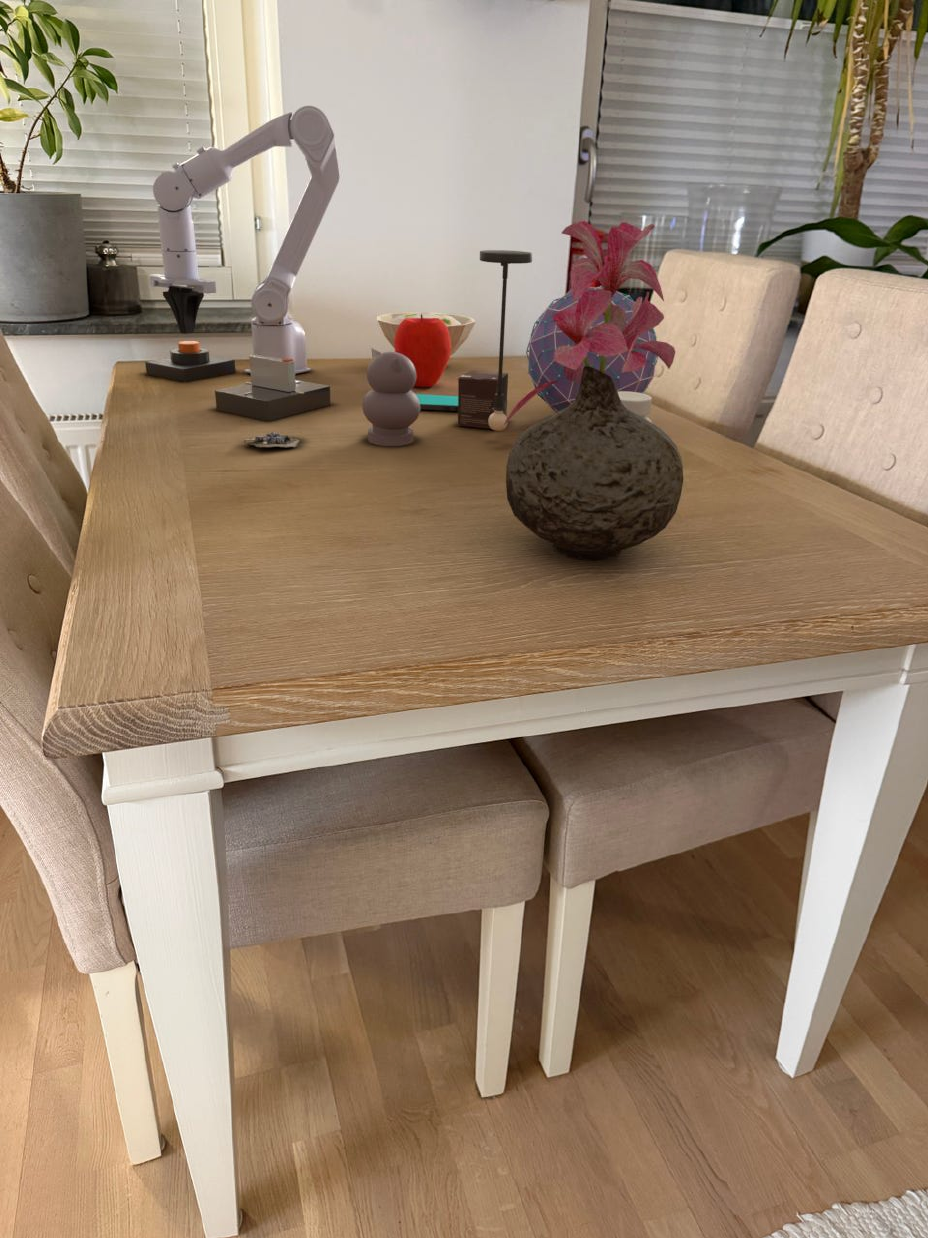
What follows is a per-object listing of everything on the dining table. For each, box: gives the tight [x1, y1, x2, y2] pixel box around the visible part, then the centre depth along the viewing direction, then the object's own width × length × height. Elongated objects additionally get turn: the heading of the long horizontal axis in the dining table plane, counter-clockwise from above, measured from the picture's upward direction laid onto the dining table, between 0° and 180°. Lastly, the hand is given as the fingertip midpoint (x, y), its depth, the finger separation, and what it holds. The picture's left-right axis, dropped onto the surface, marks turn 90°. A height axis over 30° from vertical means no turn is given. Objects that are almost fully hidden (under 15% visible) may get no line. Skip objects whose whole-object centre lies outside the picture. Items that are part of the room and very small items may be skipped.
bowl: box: [376, 311, 476, 357], centre depth 172 cm, size 19×19×10 cm
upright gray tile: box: [248, 354, 296, 392], centre depth 138 cm, size 8×2×5 cm, turn 57°
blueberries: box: [243, 431, 301, 449], centre depth 120 cm, size 7×8×2 cm
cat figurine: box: [362, 347, 422, 447], centre depth 122 cm, size 8×8×12 cm
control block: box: [144, 347, 237, 383], centre depth 161 cm, size 12×10×4 cm
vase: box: [503, 220, 684, 561], centre depth 83 cm, size 17×17×30 cm
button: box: [177, 340, 201, 353], centre depth 160 cm, size 4×4×2 cm
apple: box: [394, 314, 451, 388], centre depth 156 cm, size 10×10×12 cm
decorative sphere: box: [525, 285, 659, 414], centre depth 135 cm, size 20×20×20 cm
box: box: [457, 369, 509, 430], centre depth 133 cm, size 6×6×7 cm
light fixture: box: [479, 249, 533, 432], centre depth 118 cm, size 7×7×25 cm
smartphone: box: [415, 393, 458, 412], centre depth 144 cm, size 7×1×15 cm
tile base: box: [214, 379, 331, 422], centre depth 139 cm, size 14×12×3 cm
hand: (187, 332), depth 159 cm, fingers closed
